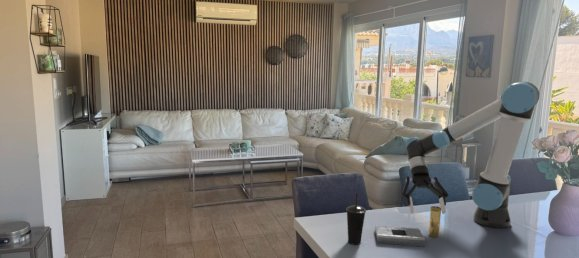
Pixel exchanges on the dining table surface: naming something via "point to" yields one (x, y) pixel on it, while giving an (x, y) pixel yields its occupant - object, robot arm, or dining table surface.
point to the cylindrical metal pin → (434, 221)
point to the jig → (399, 236)
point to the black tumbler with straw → (355, 223)
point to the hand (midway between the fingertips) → (428, 212)
